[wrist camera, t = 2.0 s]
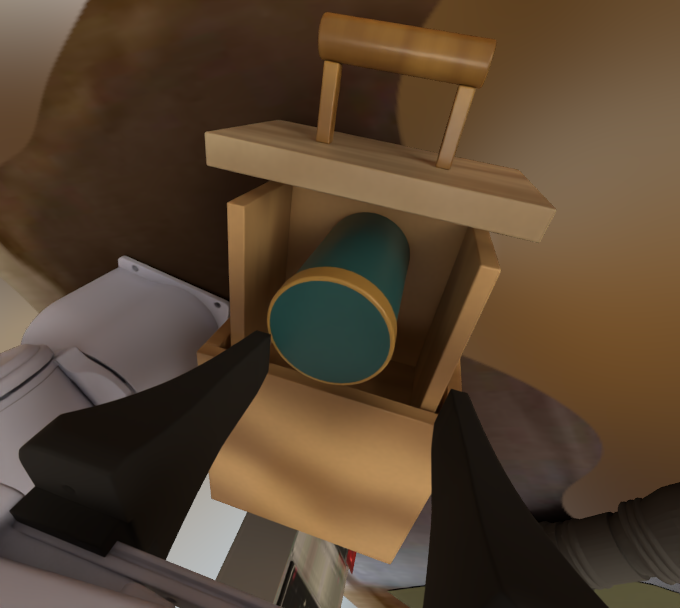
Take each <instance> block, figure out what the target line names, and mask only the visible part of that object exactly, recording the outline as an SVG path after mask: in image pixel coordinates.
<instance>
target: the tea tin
mask: <svg viewBox="0 0 680 608" xmlns="http://www.w3.org/2000/svg"><path fill="white" fill-rule="evenodd" d="M409 260H410V249H409V244H408V241H407V238H406V237H405V235H404V233H403V232H402V230H401V229H400V228H399V227H398V226H397V225H396V224H395V223H394V222H393V221H391V220H390V219H388V218H387V217H384V216H382V215H379V214H376V213H370V212H361V213H355V214H352V215H349V216H347V217H345V218H343V219H342V220H341V221H339V222H338V223H337V224H336V225H335V226H334V227H333V229H332V230H331V231H330V232H329V234H328V235H327V236H326V237H325V238H324V240H323V241H322V242H321V243H320V245H319V246H318V247H317V248H316V249H315V251H314V252H313V253H312V254H311V255H310V257H309V258H308V259H307V260H306V262H305V263H304V264H303V265H302V266H301V268H300V269H299V270H298V271H297V273H296V274H295V275H293V276H292V277H291V278H289V279H288V280H287V281H286V282H285V283H284V284H283V285H282V287H281V288H280V289H279V290H278V291H277V293H276V294H275V295H274V297H273V298H272V300H271V302H270V305H269V308H268V313H267V327H268V332H269V334H271V341H272V343H273V345H274V347H275V348H276V350H277V351H278V353H279V354H280V355H281V357H282V358H283V359H284V360H285V361H286V362H287V363H288V364H289V365H290V366H292V367H293V368H294V369H296V370H297V371H298V372H300V373H302V374H303V375H305V376H307V377H309V378H311V379H314V380H317V381H319V382H323V383H327V384H333V385H353V384H358V383H362V382H365V381H367V380H369V379H371V378H373V377H375V376H376V375H378V374H379V373H380V372H381V371H382V370H383V369H384V368H385V367H386V366H387V364H388V363H389V361H390V359H391V357H392V355H393V351H394V347H395V342H396V337H397V319H398V314H399V309H400V304H401V299H402V294H403V289H404V285H405V280H406V275H407V270H408V265H409Z"/></svg>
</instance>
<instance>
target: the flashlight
mask: <svg viewBox="0 0 680 608" xmlns="http://www.w3.org/2000/svg"><path fill="white" fill-rule="evenodd" d="M539 525H540V526H541V527H542V529H543V530H544V531H545V533H546V534H547V535H548V537H549V538H550V539H551V541H552V542H553V543H554V545H555V546H556V547H557V548H558V550H559V551H560V552H561V553H562V555H563V556H564V557H565V558H566V559H567V561H568V562H569V563H570V564H571V565H572V567H573V568H574V569H575V570H576V572H577V573H578V574H579V575H580V576H581V577H582V578H583V579H584V581H585V582H586V583H587V584H588V585H589V586H590V587H591V588H592V589H593V591H594V590H595V589H598V590H602V589H604V588H606V589H610V588H612V587H613V585H619V584H626V583H633V582H640V581H647V580H649V579H650V577H657V578H658V579H660V580H661V581H663V582H665V583H666V584H669V585H674V584H675V583H679V584H680V482H679V483H675V484H672V485H668V486H665V487H661V488H659V489H657V490H656V491H654V492H653V493H651V494H649V495H648V496H646V497H644V498H643V499H642V498H636V499H635V500H628V501H627V502H621V503H620V504H619V507H618V512H615V513H612V512H606V513H602V514H598V515H595V516H591V517H587V518H583V519H576V518H573V519H571V520H566V521H564V522H556V523H552V524H551V523H549V522H547V521H543V522H539Z"/></svg>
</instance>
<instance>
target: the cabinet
mask: <svg viewBox="0 0 680 608" xmlns="http://www.w3.org/2000/svg"><path fill="white" fill-rule="evenodd" d="M230 347H231V326H230V317H229V318H228V320H227V321H226V322H225V323H224V324H223V325H222V326H221V327H220V328H219V329H218V330H217V331H216V332H215V333H214V334H213V335H212V336H211V337H210V338H209V339H208V340H207V342H206V343H204V344H203V345H202V347H201V348H200V349H199V350H198V351H197V362H198V366H199V365H201V364H203V363H205V362H206V361H208V360H210V359H212V358H213V357H215V356H217V355H218V354H220V353H222V352H223V351H225V350H226V349H228V348H230ZM451 389H454V390H458V391H461V392H462V385H461V368H460V360H459V362H458V364H457V366H456V368H455V370H454V373H453V375H452V377H451V379H450V381H449V383H448V385H447V388H446V390H445V392H444V394H443V396H442V398H441V400H440V402H439V405H438V407H437V409H436V411H435V413H432V412H429V411H426V410H423V409H419V408H416V407H413V406H410V405H406V404H403V403H400V402H397V401H393V400H390V399H387V398H383V397H380V396H377V395H374V394H370V393H367V392H364V391H361V390H357V389H354V388H351V387H348V386H344V385H333V384H327V383H323V382H319V381H317V380H314V379H311V378H309V377H307V376H305V375H303V374H302V373H300V372H298V371H295V370H292V369H289V368H285V367H282V366H279V365H276V364H272V363H269V371H268V373H267V376H266V378H265V380H264V382H263V384H262V386H261V388H260V389H259V391H258V393H257V395H256V396H255V398H254V399H253V401H252V402H251V404H250V405H249V407H248V408H247V410H246V411H245V413H244V414H243V416H242V417H241V419H240V420H239V422H238V423H237V425H236V426H235V428H234V429H233V431H232V432H231V434H230V435H229V437H228V438H227V440H226V441H225V443H224V445H223V446H222V448H221V450H220V451H219V453H218V455H217V457H216V459H215V461H214V463H213V464H212V466H211V468H210V470H209V479H210V489H211V498H212V499H214V500H217V501H220V502H222V503H225V504H228V505H230V506H233V507H236V508H238V509H242V510H244V511H247V512H249V513H252V514H255V515H257V516H260V517H263V518H266V519H268V520H271V521H274V522H276V523H279V524H282V525H285V526H287V527H290V528H293V529H295V530H298V531H301V532H304V533H306V534H309V535H312V536H314V537H317V538H320V539H323V540H325V541H328V542H331V543H333V544H336V545H339V546H342V547H344V548H347V549H350V550H352V551H355V552H358V553H361V554H363V555H366V556H369V557H371V558H374V559H377V560H380V561H382V562H385V563H388V564H391V562H392V561H393V559H394V557H395V555H396V554H397V552H398V550H399V549H400V547H401V545H402V543H403V542H404V540H405V538H406V536H407V535H408V533H409V531H410V529H411V528H412V526H413V524H414V522H415V521H416V519H417V517H418V515H419V514H420V512H421V510H422V508H423V507H424V505H425V503H426V501H427V500H428V498H429V496H430V494H431V445H432V435H433V427H434V422H435V420H436V418H437V416H438V414H439V412H440V410H441V408H442V406H443V404H444V402H445V400H446V398H447V396H448V394H449V392H450V390H451Z"/></svg>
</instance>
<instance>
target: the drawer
mask: <svg viewBox="0 0 680 608" xmlns="http://www.w3.org/2000/svg"><path fill="white" fill-rule="evenodd" d="M495 49H496V40H495V39H490V38H483V37H477V36H471V35H465V34H459V33H452V32H447V31H440V30H434V29H428V28H422V27H416V26H410V25H404V24H398V23H391V22H385V21H379V20H373V19H367V18H361V17H355V16H349V15H342V14H336V13H330V12H326V13H324V14H323V16H322V19H321V22H320V26H319V33H318V51H319V56H320V58H321V59H322V60H325V62H324V68H323V77H322V87H321V96H320V106H319V115H318V125H317V128H316V127H311V126H307V125H302V124H297V123H292V122H288V121H283V120H274V121H268V122H262V123H256V124H250V125H244V126H238V127H232V128H226V129H220V130H214V131H208V132H205V147H206V164H207V165H208V166H211V167H215V168H219V169H224V170H228V171H232V172H236V173H241V174H245V175H249V176H254V177H258V178H262V179H266V180H271V181H269V182H267V183H265V184H263V185H261V186H259V187H257V188H255V189H253V190H251V191H249V192H247V193H245V194H243V195H241V196H239V197H237V198H235V199H233V200H231V201H229V202H228V203H227V220H228V255H229V291H230V326H231V346H233V345H234V344H236V343H237V342H239V341H241V340H242V339H244V338H245V337H247V336H248V335H250V334H251V333H253V332H254V331H256V330H258V331H261V332H264V333H268V334H269V332H268V327H267V313H268V308H269V305H270V302H271V300H272V298H273V297H274V295H275V294H276V293H277V291H278V290H279V289H280V288H281V287H282V285H283V284H284V283H285V282H286V281H287V280H288V279H289V278H291V277H292V276H293V275H295V274H296V273H297V271H298V270H299V269H300V268H301V266H302V265H303V264H304V263H305V262H306V260H307V259H308V258H309V257H310V255H311V254H312V253H313V252H314V251H315V249H316V248H317V247H318V246H319V245H320V243H321V242H322V241H323V240H324V238H325V237H326V236H327V235H328V234H329V232H330V231H331V230H332V229H333V227H334V226H335V225H336V224H337V223H338V222H339V221H341V220H342V219H343V218H345V217H347V216H349V215H352V214H355V213H361V212H370V213H376V214H379V215H382V216H384V217H387V218H388V219H390V220H391V221H393V222H394V223H395V224H396V225H397V226H398V227H399V228H400V229H401V230H402V232H403V233H404V235H405V237H406V238H407V241H408V244H409V249H410V260H409V265H408V270H407V275H406V280H405V285H404V289H403V294H402V299H401V304H400V309H399V314H398V319H397V337H396V342H395V347H394V351H393V355H392V357H391V359H390V361H389V363H388V364H387V366H386V367H385V368H384V369H383V370H382V371H381V372H380V373H379V374H378V375H376V376H375V377H373V378H371V379H369V380H367V381H365V382H362V383H358V384H353V385H344V386H348V387H351V388H354V389H357V390H361V391H364V392H367V393H370V394H374V395H377V396H380V397H383V398H387V399H390V400H393V401H397V402H400V403H403V404H406V405H410V406H413V407H416V408H419V409H423V410H426V411H429V412H432V413H435V411H436V409H437V407H438V405H439V402H440V400H441V398H442V396H443V394H444V392H445V390H446V388H447V385H448V383H449V381H450V379H451V377H452V375H453V373H454V370H455V368H456V366H457V364H458V362H459V360H460V358H461V356H462V353H463V351H464V349H465V347H466V345H467V343H468V341H469V338H470V336H471V334H472V332H473V330H474V328H475V326H476V323H477V321H478V319H479V317H480V315H481V313H482V310H483V309H484V306H485V304H486V302H487V300H488V298H489V296H490V294H491V291H492V289H493V287H494V285H495V283H496V280H497V279H498V277H499V274H500V272H501V268H500V265H499V262H498V259H497V256H496V253H495V250H494V246H493V243H492V240H491V237H490V234H489V232H493V233H497V234H502V235H506V236H510V237H515V238H519V239H524V240H527V241H532V242H536V243H539V242H541V240H542V238H543V236H544V234H545V232H546V230H547V228H548V226H549V224H550V222H551V220H552V218H553V216H554V214H555V213H556V208H554V206H553V205H552V204H551V203H550V202H549V201H548V200H547V199H546V198H545V197H544V196H543V195H542V194H541V193H540V192H539V191H538V190H537V189H536V188H535V186H533V184H532V183H531V182H530V181H529V180H528V179H527V178H526V177H525V176H524V175H523V174H522V173H521V172H520V171H519V170H517V169H512V168H508V167H503V166H498V165H493V164H488V163H484V162H479V161H474V160H469V159H464V158H460V157H455V153H456V149H457V146H458V143H459V140H460V137H461V134H462V131H463V128H464V124H465V121H466V118H467V115H468V112H469V109H470V106H471V102H472V99H473V96H474V93H475V88H481V87H482V86H483V84H484V82H485V79H486V77H487V74H488V71H489V68H490V65H491V62H492V59H493V56H494V52H495ZM341 63H342V64H347V65H353V66H358V67H364V68H369V69H375V70H380V71H386V72H391V73H397V74H402V75H408V76H413V77H420V78H424V79H430V80H435V81H441V82H447V83H452V84H457V85H459V87H458V89H457V92H456V96H455V99H454V102H453V106H452V109H451V113H450V116H449V120H448V123H447V126H446V130H445V133H444V137H443V140H442V143H441V147H440V150H439V153H435V152H431V151H426V150H422V149H417V148H412V147H407V146H402V145H398V144H393V143H388V142H383V141H379V140H374V139H369V138H364V137H359V136H355V135H350V134H345V133H340V132H335V131H334V127H335V119H336V112H337V104H338V96H339V89H340V81H341V73H342V64H341ZM269 363H272V364H276V365H279V366H282V367H285V368H289V369H292V370H295V371H297V370H296V369H294V368H293V367H292V366H290V365H289V364H288V363H287V362H286V361H285V360H284V359H283V358H282V357H281V355H280V354H279V353H278V351H277V350H276V348H275V347H274V345H273V343H272V341H270V357H269Z"/></svg>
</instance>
